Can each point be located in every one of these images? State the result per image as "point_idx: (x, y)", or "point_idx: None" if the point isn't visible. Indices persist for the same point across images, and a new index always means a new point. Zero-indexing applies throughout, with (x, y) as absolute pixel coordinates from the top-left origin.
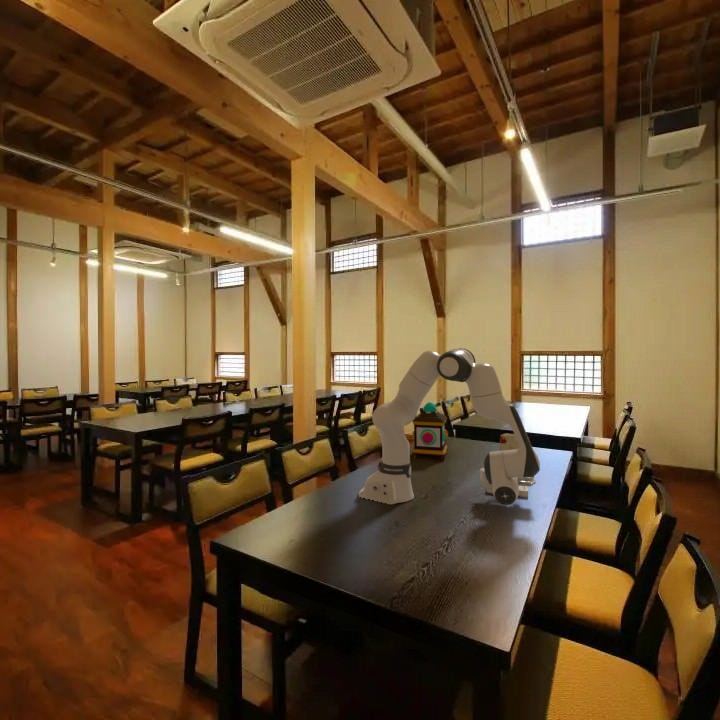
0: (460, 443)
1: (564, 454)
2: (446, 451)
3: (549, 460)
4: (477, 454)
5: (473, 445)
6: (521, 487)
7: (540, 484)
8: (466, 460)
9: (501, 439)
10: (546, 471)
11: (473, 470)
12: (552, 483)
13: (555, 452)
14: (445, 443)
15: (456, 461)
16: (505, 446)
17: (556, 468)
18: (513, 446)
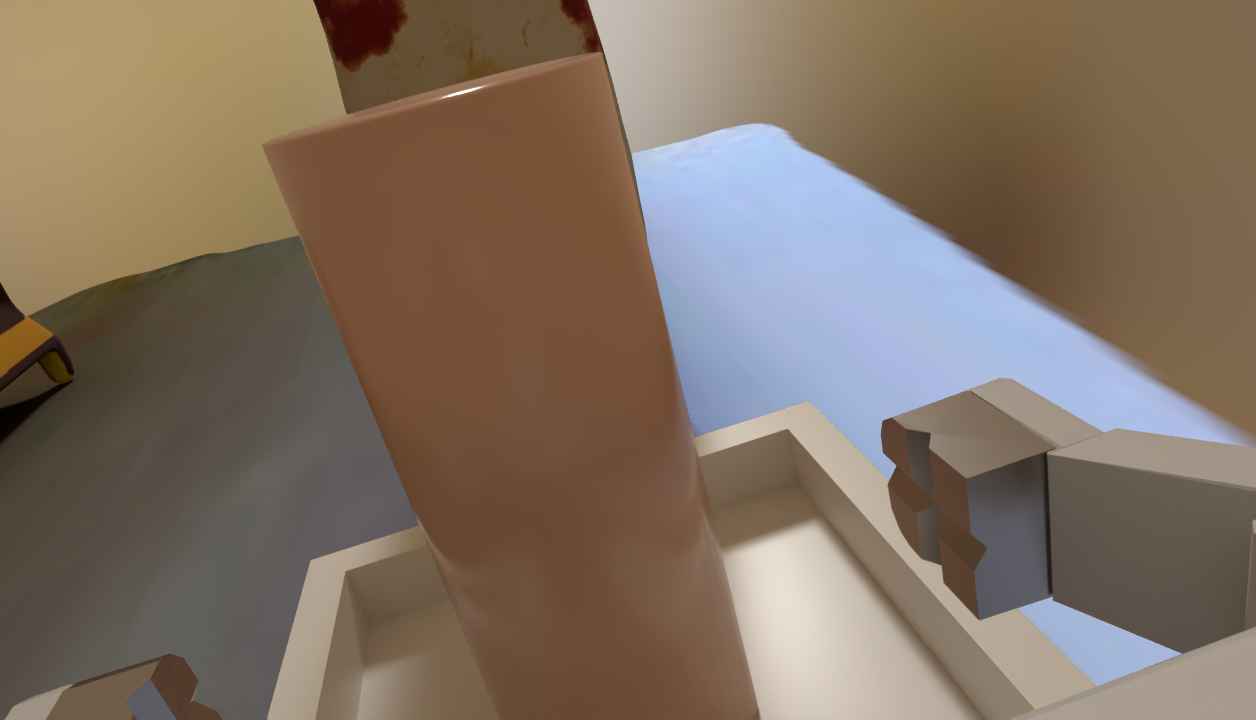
0: (221, 274)
1: (767, 133)
2: (58, 368)
3: (735, 178)
4: (300, 303)
5: (294, 258)
6: (829, 592)
7: (935, 394)
8: (193, 388)
9: (332, 11)
10: (803, 241)
11: (203, 493)
12: (1007, 327)
13: (718, 141)
14: (13, 314)
15: (95, 435)
16: (412, 86)
17: (831, 199)
18: (509, 47)
